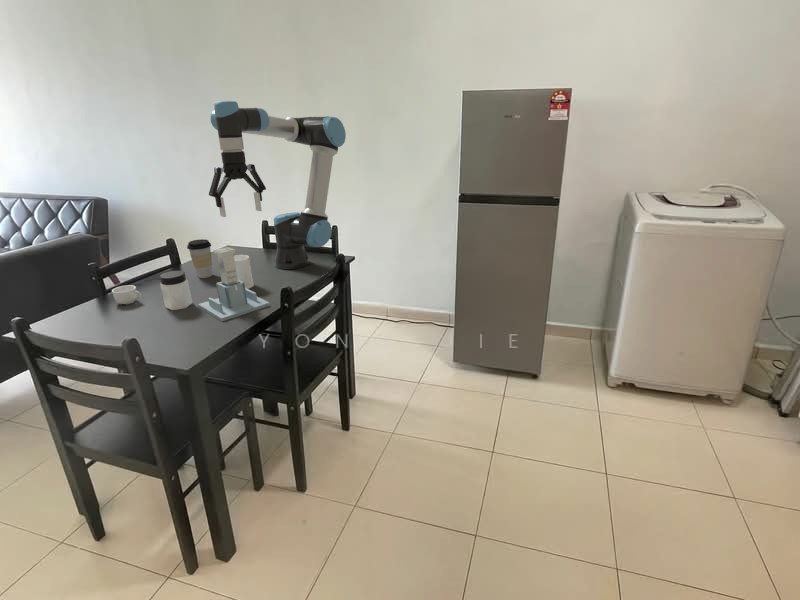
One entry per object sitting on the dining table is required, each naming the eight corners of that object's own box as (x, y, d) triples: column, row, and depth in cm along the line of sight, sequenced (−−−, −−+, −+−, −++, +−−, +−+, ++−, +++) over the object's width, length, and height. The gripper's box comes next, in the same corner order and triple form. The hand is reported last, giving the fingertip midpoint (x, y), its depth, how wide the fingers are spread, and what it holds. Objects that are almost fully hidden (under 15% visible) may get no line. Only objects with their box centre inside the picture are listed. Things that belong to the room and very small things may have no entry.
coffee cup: (206, 280, 188) (199, 245, 183) (188, 278, 191) (180, 243, 186) (221, 273, 197) (215, 239, 191) (203, 271, 200) (197, 238, 194)
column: (236, 298, 165) (228, 246, 158) (243, 302, 162) (235, 249, 154) (223, 302, 162) (213, 250, 154) (230, 306, 158) (220, 252, 151)
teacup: (110, 306, 165) (106, 292, 163) (124, 298, 172) (121, 284, 170) (135, 307, 164) (132, 293, 161) (149, 299, 171) (146, 285, 169)
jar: (165, 311, 159) (157, 279, 154) (165, 303, 166) (158, 272, 161) (192, 307, 162) (186, 275, 158) (192, 299, 169) (185, 269, 165)
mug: (240, 294, 174) (235, 264, 169) (221, 291, 176) (216, 262, 171) (258, 283, 184) (254, 255, 179) (240, 281, 186) (236, 253, 182)
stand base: (244, 293, 174) (241, 271, 171) (269, 305, 163) (266, 282, 159) (198, 307, 162) (193, 283, 159) (222, 321, 151) (217, 296, 147)
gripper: (259, 148, 164) (267, 207, 172) (191, 152, 148) (202, 217, 156) (271, 149, 159) (277, 209, 167) (201, 153, 143) (212, 220, 151)
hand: (241, 213), depth 161 cm, fingers open, 13 cm apart
